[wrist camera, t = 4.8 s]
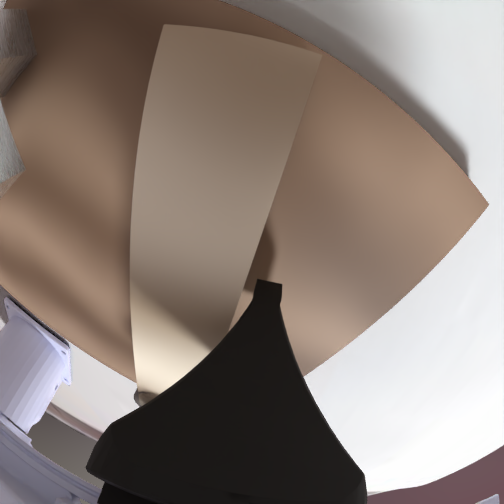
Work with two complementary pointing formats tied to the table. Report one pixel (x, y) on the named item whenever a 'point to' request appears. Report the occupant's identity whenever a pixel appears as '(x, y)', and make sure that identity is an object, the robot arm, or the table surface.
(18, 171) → the plate
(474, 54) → the table surface
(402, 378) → the table surface
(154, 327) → the link
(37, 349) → the robot arm
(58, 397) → the table surface
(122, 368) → the board
